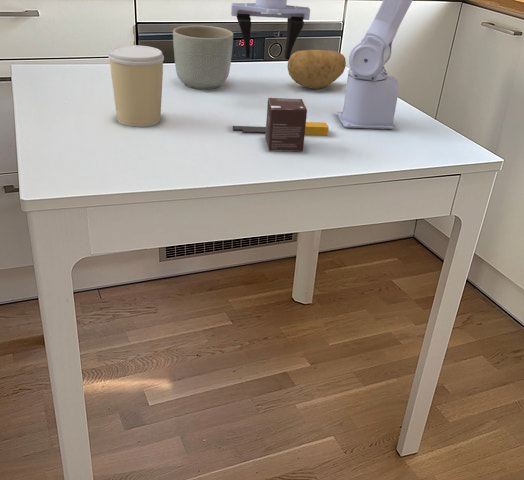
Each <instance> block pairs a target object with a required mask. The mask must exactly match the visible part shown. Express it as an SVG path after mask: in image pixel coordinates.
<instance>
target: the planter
mask: <svg viewBox="0 0 524 480" xmlns="http://www.w3.org/2000/svg"><path fill="white" fill-rule="evenodd" d="M172 42H173V43H172V46H173V57H174V58H173V59H174V66H175V72H176V76H177V77H178V79H179V80H180V81H181V82H182V83H183V84H184V85H185V86H187V87H188V88H192V89H197V90H212V89H217V88H219V87H220V86H222V85H223V84H224V83H225V82H226V81H227V80H228V78H229V74H230V71H231V65H232V58H233V57H232V56H233V48H234V47H233V46H234V32H233V31H232V30H230V29H227V28H223V27H219V26H212V25H200V24H199V25H196V24H195V25H194V24H193V25H191V24H190V25H182V26H177V27H175V28H173V30H172Z"/></svg>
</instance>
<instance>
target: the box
mask: <svg viewBox="0 0 524 480" xmlns="http://www.w3.org/2000/svg"><path fill="white" fill-rule="evenodd" d="M307 115H308V108H307V107H306V105H305V103H304V100H303V99H302V98H288V97H287V98H285V97H284V98H283V97H267V108H266V121H265V127H266V133H265V134H264V139H265V142H266V144H267V145H266V146H267V150H268V151H282V152H283V151H287V152H288V151H290V152H304V146H305V136H306V135H305V126H306V122H307V117H308V116H307Z"/></svg>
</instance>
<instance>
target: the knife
mask: <svg viewBox="0 0 524 480" xmlns="http://www.w3.org/2000/svg"><path fill="white" fill-rule="evenodd" d="M329 129H330V128H329V126H328V123H327V122H321V121H320V122H318V121H317V122H316V121H306V126H305V136H322V137H323V136H324V137H325V136H326V137H328V136H329V135H328V134H329ZM232 132H241V133H242V134H257V135H258V134H259V135H265V133H266V126H249V125H248V126H247V125H232Z"/></svg>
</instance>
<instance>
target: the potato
mask: <svg viewBox="0 0 524 480" xmlns="http://www.w3.org/2000/svg"><path fill="white" fill-rule="evenodd" d="M346 68H347V62H346V57H345V55H344V54H343V53H341V52H339V51H336V50H326V49H325V50H324V49H306V50H305V49H304V50H297V51H295V52H293V53H291V55H290V59H289V60H287V71H288V75H289V77H290V78H291V79H292V81H294V82H295V83H296V84H298V85H300V86H302V87H305V88H309V89H315V90H316V89H318V90H319V89H323V88H327V87H328V86H330V85H331V84H333V83H334V82H336V81H337V80H338V79H339V78H340V77H341V76H342V75H343V74H344V72H345V70H346Z"/></svg>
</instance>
